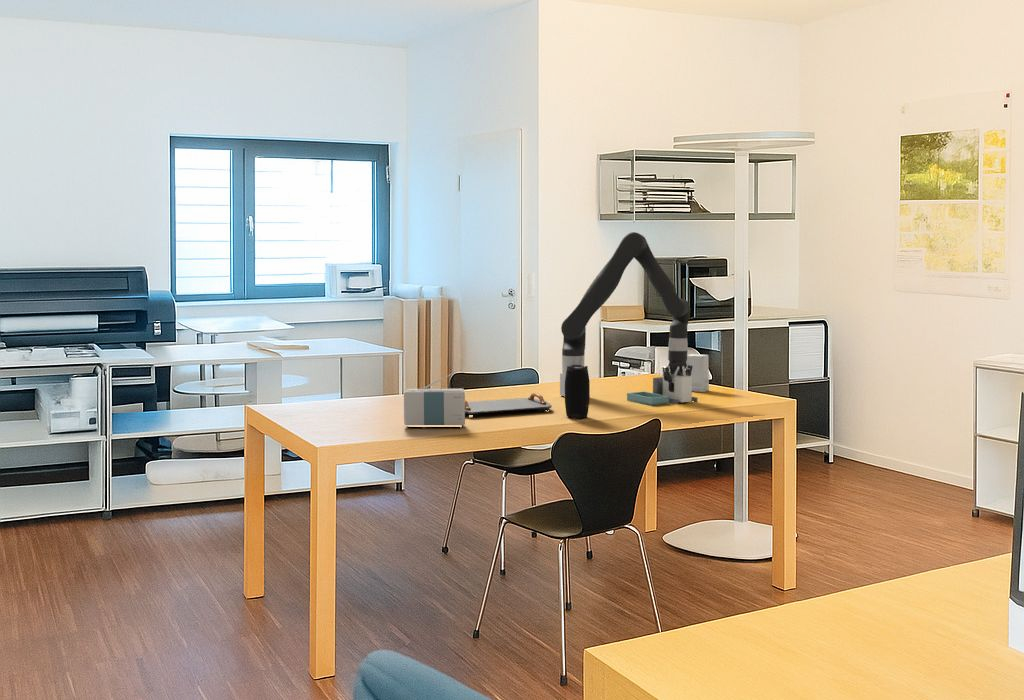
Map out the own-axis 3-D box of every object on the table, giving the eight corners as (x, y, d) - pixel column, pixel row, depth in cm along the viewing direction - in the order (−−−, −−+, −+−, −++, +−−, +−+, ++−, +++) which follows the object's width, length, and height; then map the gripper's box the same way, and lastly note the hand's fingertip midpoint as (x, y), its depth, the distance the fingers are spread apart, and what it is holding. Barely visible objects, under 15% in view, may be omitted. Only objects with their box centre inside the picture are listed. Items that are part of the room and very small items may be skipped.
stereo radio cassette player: (403, 429, 355) (403, 372, 353) (406, 425, 364) (405, 368, 361) (464, 429, 355) (464, 371, 353) (465, 425, 364) (465, 368, 361)
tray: (651, 405, 404) (651, 398, 403) (627, 400, 417) (627, 393, 417) (669, 403, 408) (669, 396, 408) (644, 398, 422) (644, 391, 421)
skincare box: (709, 390, 443) (709, 354, 441) (703, 392, 438) (704, 356, 436) (690, 389, 448) (691, 353, 446) (684, 391, 442) (685, 355, 440)
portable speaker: (593, 417, 377) (594, 366, 375) (573, 420, 372) (573, 367, 370) (580, 414, 384) (580, 363, 382) (560, 416, 379) (560, 365, 377)
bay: (676, 404, 406) (677, 382, 405) (652, 399, 419) (653, 377, 418) (697, 402, 411) (697, 380, 411) (673, 397, 424) (673, 375, 423)
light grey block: (681, 402, 407) (682, 374, 406) (662, 398, 418) (663, 370, 416) (691, 401, 410) (692, 373, 409) (671, 397, 420) (672, 369, 419)
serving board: (463, 420, 374) (463, 403, 374) (441, 411, 396) (441, 395, 395) (559, 413, 390) (559, 397, 389) (533, 404, 411) (533, 388, 410)
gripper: (685, 347, 418) (684, 388, 420) (657, 349, 411) (656, 391, 413) (698, 349, 412) (696, 391, 414) (670, 351, 405) (669, 393, 407)
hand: (676, 391), depth 413 cm, fingers closed on light grey block, 5 cm apart
